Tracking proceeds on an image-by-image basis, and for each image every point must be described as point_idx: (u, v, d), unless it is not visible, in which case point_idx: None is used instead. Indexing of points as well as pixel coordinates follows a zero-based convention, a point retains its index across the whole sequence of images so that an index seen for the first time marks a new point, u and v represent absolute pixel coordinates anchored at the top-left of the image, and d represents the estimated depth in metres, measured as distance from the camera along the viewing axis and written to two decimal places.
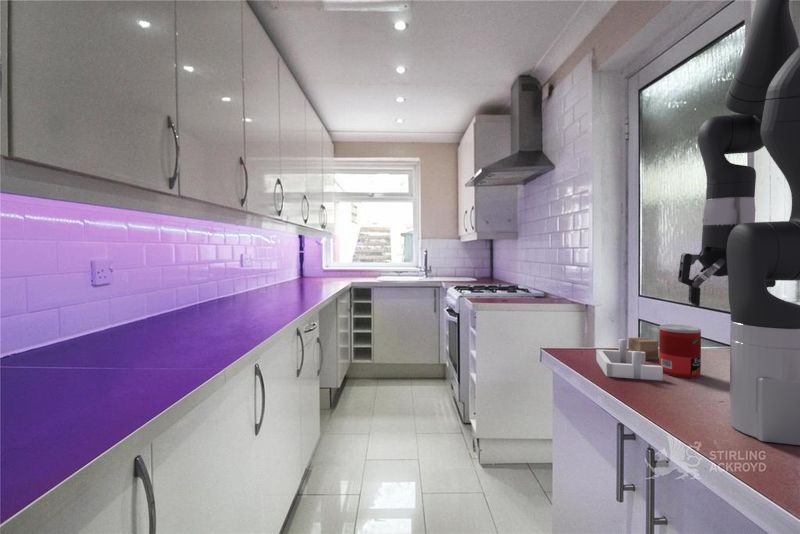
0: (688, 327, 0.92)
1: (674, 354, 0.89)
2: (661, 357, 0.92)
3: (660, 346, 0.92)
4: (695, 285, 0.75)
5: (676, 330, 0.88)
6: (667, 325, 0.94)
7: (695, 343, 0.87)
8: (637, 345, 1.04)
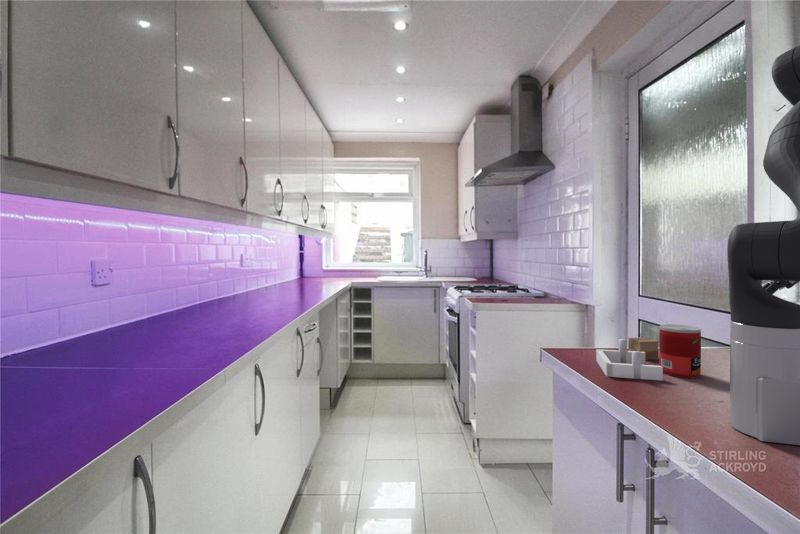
0: (688, 327, 0.92)
1: (674, 354, 0.89)
2: (661, 357, 0.92)
3: (660, 346, 0.92)
4: None
5: (676, 330, 0.88)
6: (667, 325, 0.94)
7: (695, 343, 0.87)
8: (637, 345, 1.04)
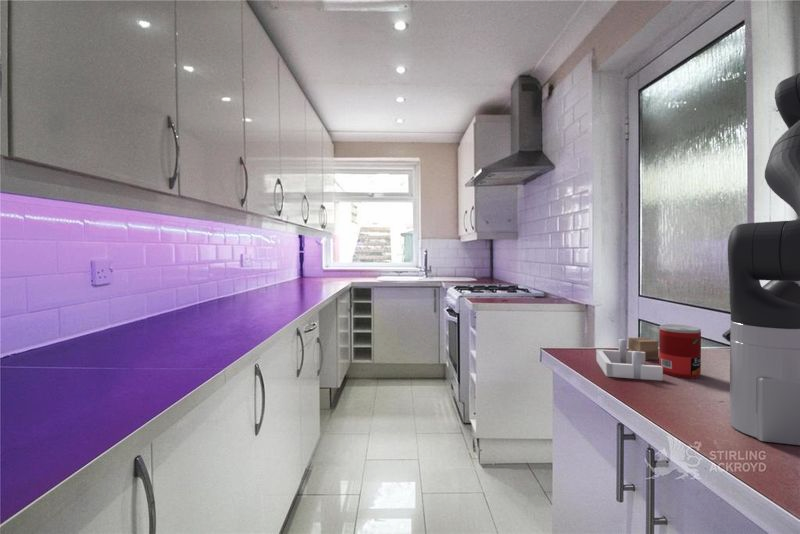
0: (688, 327, 0.92)
1: (674, 354, 0.89)
2: (661, 357, 0.92)
3: (660, 346, 0.92)
4: None
5: (676, 330, 0.88)
6: (667, 325, 0.94)
7: (695, 343, 0.87)
8: (637, 345, 1.04)
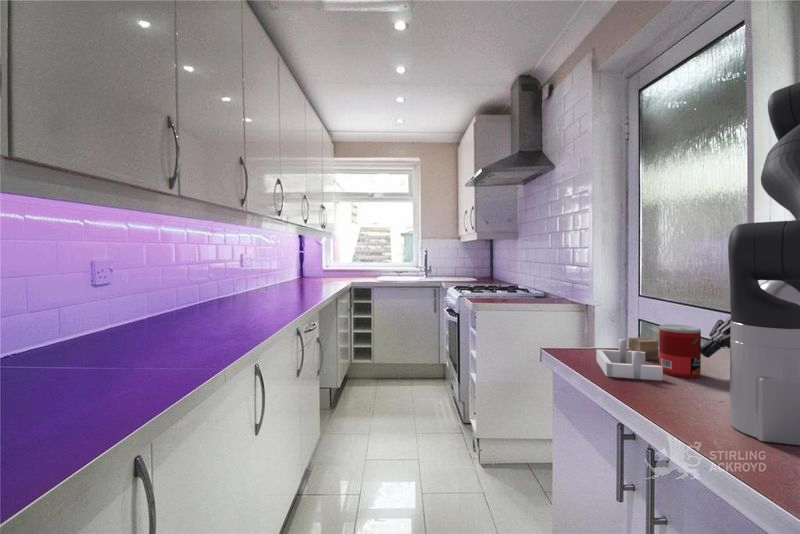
0: (688, 327, 0.92)
1: (674, 354, 0.89)
2: (661, 357, 0.92)
3: (660, 346, 0.92)
4: (711, 337, 0.90)
5: (676, 330, 0.88)
6: (667, 325, 0.94)
7: (695, 343, 0.87)
8: (637, 345, 1.04)
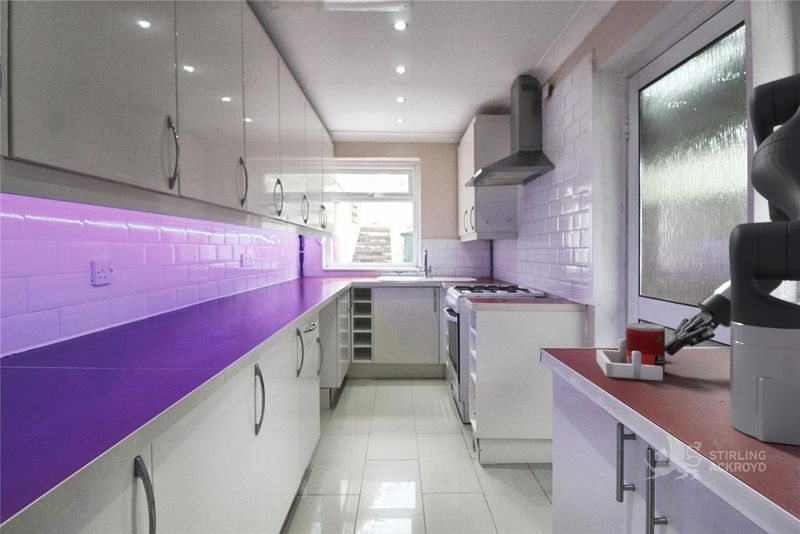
0: (653, 325, 0.94)
1: None
2: (627, 355, 0.94)
3: (626, 344, 0.95)
4: (675, 335, 0.92)
5: (641, 328, 0.91)
6: (634, 324, 0.97)
7: (659, 341, 0.90)
8: None
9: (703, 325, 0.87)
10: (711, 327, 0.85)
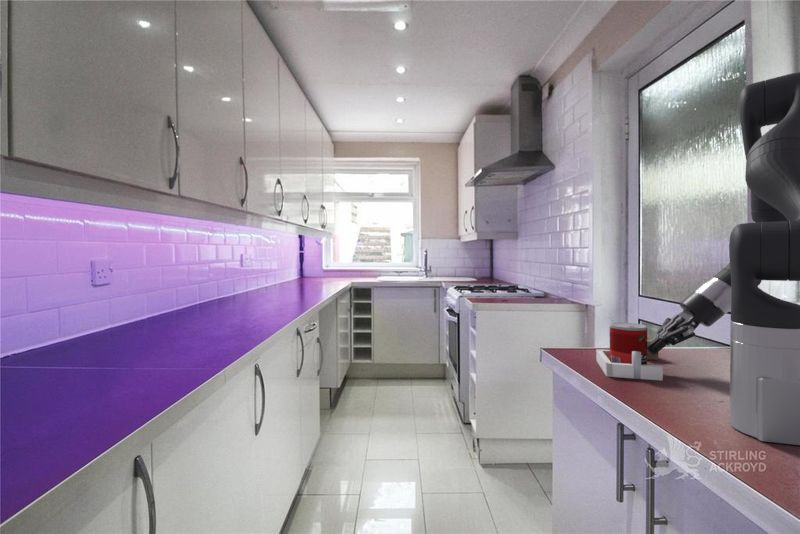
0: (636, 325, 0.95)
1: (622, 351, 0.92)
2: (611, 354, 0.95)
3: (610, 343, 0.96)
4: (657, 335, 0.93)
5: (624, 328, 0.92)
6: (617, 323, 0.98)
7: (641, 340, 0.91)
8: None
9: (684, 324, 0.88)
10: (692, 326, 0.86)
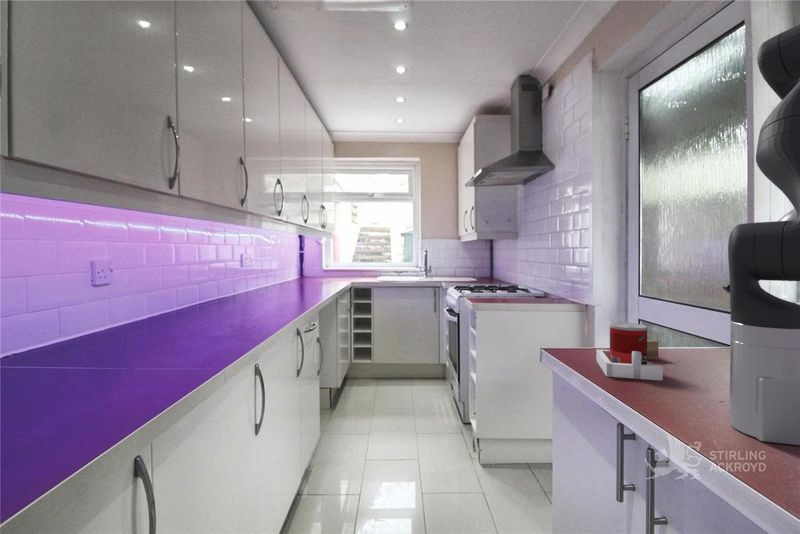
0: (636, 325, 0.95)
1: (622, 351, 0.92)
2: (611, 354, 0.95)
3: (610, 343, 0.96)
4: None
5: (624, 328, 0.92)
6: (617, 323, 0.98)
7: (641, 341, 0.91)
8: None
9: None
10: None
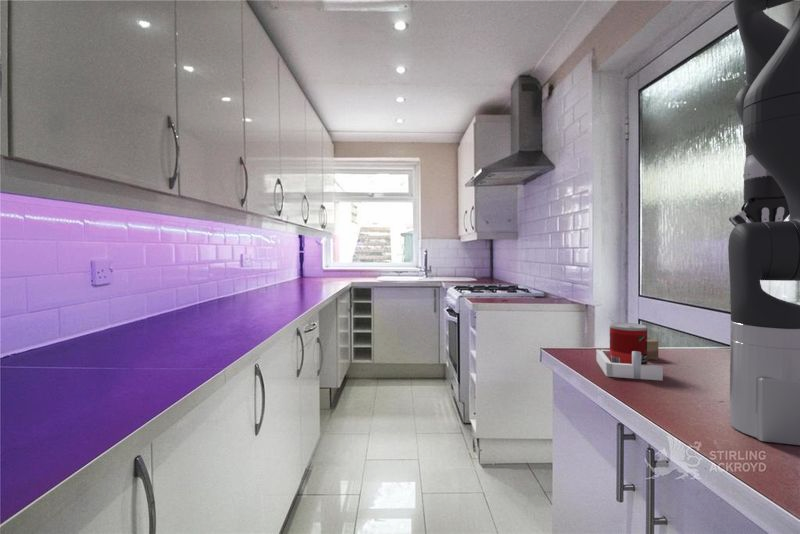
0: (636, 325, 0.95)
1: (622, 351, 0.92)
2: (611, 354, 0.95)
3: (610, 343, 0.96)
4: None
5: (624, 328, 0.92)
6: (617, 323, 0.98)
7: (641, 341, 0.91)
8: None
9: None
10: None
